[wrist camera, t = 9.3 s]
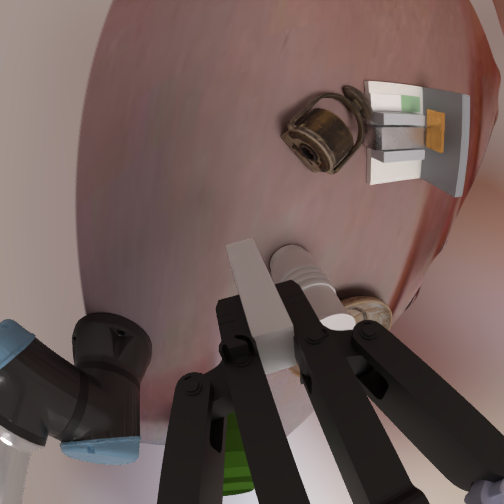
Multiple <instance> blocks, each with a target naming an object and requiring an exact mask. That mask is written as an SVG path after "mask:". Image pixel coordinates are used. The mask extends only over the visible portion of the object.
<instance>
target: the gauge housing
mask: <svg viewBox="0 0 504 504" xmlns="http://www.w3.org/2000/svg"><path fill="white" fill-rule="evenodd" d="M364 87H365V96H366V97H367V99H368V100H369V102H370V104H371V107H372V110H373V116H372V118H371V119H369V120H367V119H366V121H367V124H382V125H421V126H424V127H427V109H430V110H434V111H438V112H442V113H445V131H444V150H443V153H439V152H437V151H435V150H432V149H430V148H409V149H391V150H377V151H376V150H373V149H371V148H368V147H367V183H368V184H370V185H373V184H380V183H387V182H394V181H401V180H408V179H416V178H421V179H423V180H425V181H427V182H429V183H431V184H432V185H434V186H436V187H438V188H439V189H441V190H443V191H445V192H446V193H448V194H450V195H451V196H453V197H459V196H462V193H463V187H464V180H465V173H466V165H467V155H468V144H469V126H470V96H468V95H465V94H460V93H455V92H450V91H445V90H439V89H433V88H426V87H419V86H412V85H405V84H397V83H388V82H377V81H364Z"/></svg>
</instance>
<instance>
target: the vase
mask: <svg viewBox="0 0 504 504" xmlns="http://www.w3.org/2000/svg"><path fill="white" fill-rule="evenodd" d="M253 489H254V484H253V481H252V477H251V474H250V470H249V466H248V462H247V459H246V455H245V451H244V447H243V443H242V439H241V435H240V431H239V427H238V423H237V419H236V414H235V411H233V412H231V413H230V414H228V415H227V429H226V445H225V462H224V479H223V496H228V495H236V494H241V493H245V492H250V491H252V490H253Z"/></svg>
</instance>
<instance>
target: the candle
mask: <svg viewBox="0 0 504 504" xmlns="http://www.w3.org/2000/svg"><path fill="white" fill-rule="evenodd" d="M270 268H271V278H272V280H273V282H274V283H275V284H277V283H281V282H284V281H288V280H293V281H294V282H296V283H297V284H299V285H300V287H301V289H302V290H303V292H304V294H305V296H306V297H307V300H308V301H309V303H310V304H311V306H312V308H313V310H314V311H315V313H316V315H317V317H318V318H319V320H320V322H321V323H322V324H323V325H324V326H326V327H327V328H329V329H332V330H353V328H354V326H355V325H356V323H355V319H354V318H353V316H352V315H351V314H350V313H348V312H347V311H346V309H345V308H344V306H343V305H342V303H341V302H340V300H339V298H338V297H337V295H336V290H335V288H334V286H333V285H332V284H331V282H330V280H329V279H328V277H327V276H326V275H325V273H324V271H323V270H322V269H321V268H320V267H319V266H318V265H317V263H316V261H315V260H314V258H313V256H312V255H311V254H310V253H309V252H307V251H305V250H304V249H303V248H302V247H301V246H298V245H287V246H284V247H282V248H280V249H279V250H277V251H276V252H275V253H274V255H273V256H272V258H271V261H270Z"/></svg>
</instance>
